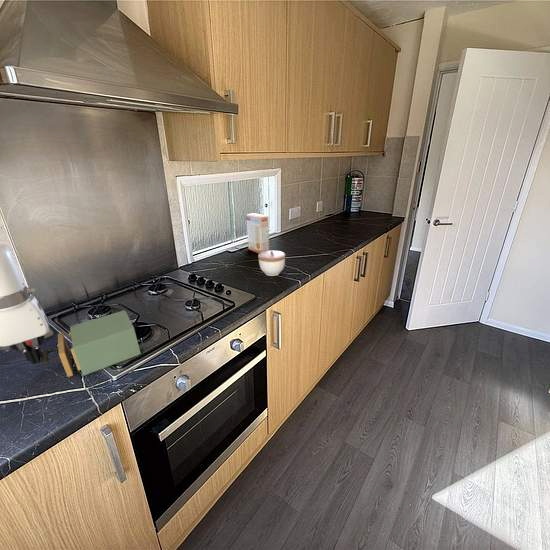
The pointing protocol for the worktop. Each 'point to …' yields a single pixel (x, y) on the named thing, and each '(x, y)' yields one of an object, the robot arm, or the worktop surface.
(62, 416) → the worktop surface
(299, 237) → the worktop surface
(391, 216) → the worktop surface
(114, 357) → the green box
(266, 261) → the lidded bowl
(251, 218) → the cracker box
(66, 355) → the wooden pull-out drawer
